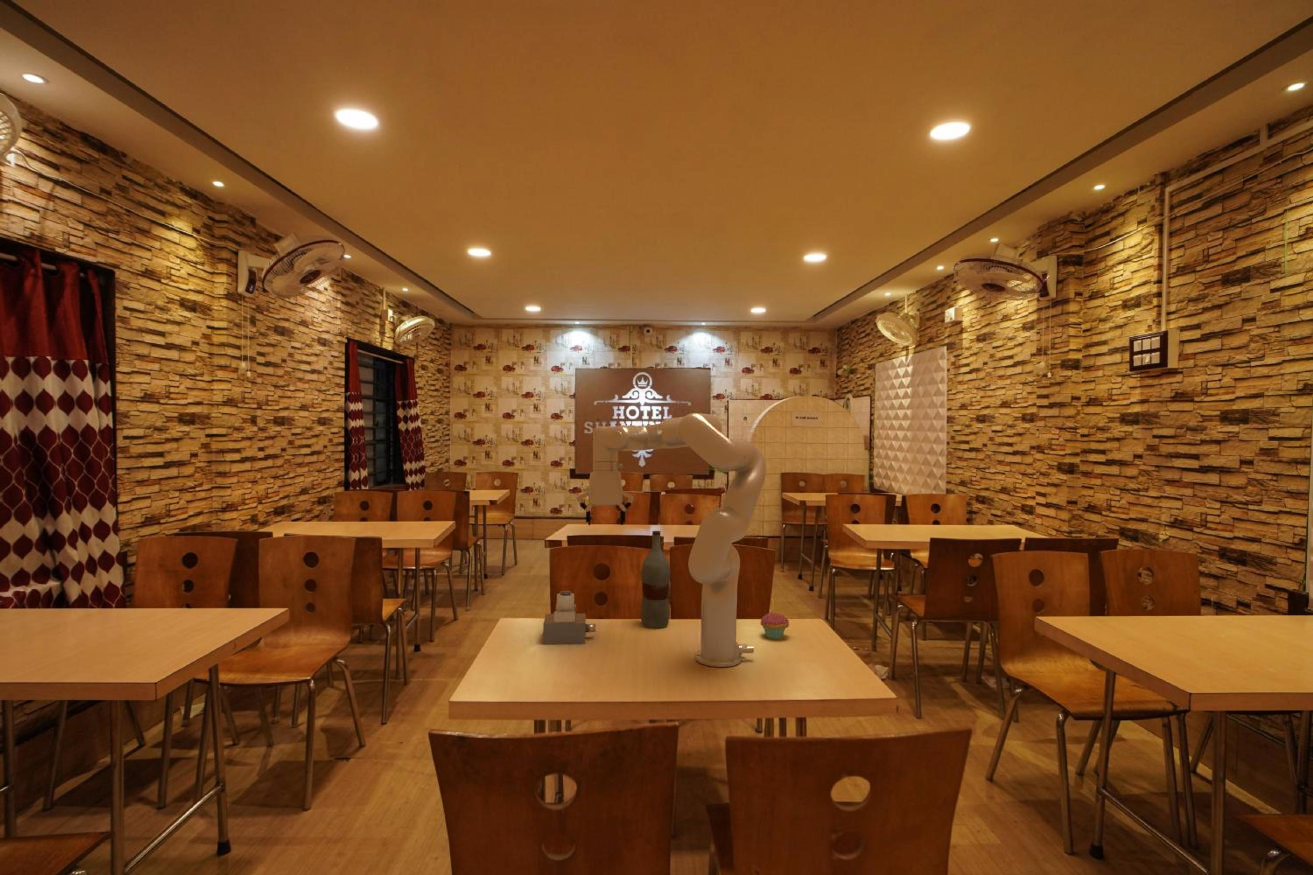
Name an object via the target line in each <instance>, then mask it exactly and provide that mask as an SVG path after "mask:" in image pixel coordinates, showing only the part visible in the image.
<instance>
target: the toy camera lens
mask: <svg viewBox="0 0 1313 875" xmlns="http://www.w3.org/2000/svg"><path fill="white" fill-rule="evenodd" d="M574 604H575V594H574V593H573V592H572V591H570V590H560V592H559V593H557V594H556V605H557V611H574Z"/></svg>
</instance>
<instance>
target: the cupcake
mask: <svg viewBox="0 0 1313 875" xmlns="http://www.w3.org/2000/svg"><path fill="white" fill-rule="evenodd" d="M770 601H771V612H770V613H766V614H764V615H763V616H762V617H761V618H760V625H761V627H762V628H763V630H764V634H765V637H766V638H767V637H768V639H769V638H771V639H770V640H781V639H782V638H783V635H784V633H785V630H786V628H789V626H790V621H789V619H788V618H787V617H786V616H785V615H783V614H781V613H777V612H775V605H774V603H775V602H774V601H775V600H774V598H773V597H771V600H770Z"/></svg>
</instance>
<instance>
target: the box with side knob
mask: <svg viewBox="0 0 1313 875" xmlns="http://www.w3.org/2000/svg"><path fill="white" fill-rule="evenodd" d="M576 611H577V604H575V603H574V611H557V604H555V611H554V612H553V613H545V616H544V620H543V623H542V624H543V628H542V630H543V632H542V637H543V638H542V645H544V646H545V645H550V646H551V645H585V644H586V633H596V631H597V630H596V629H597V628H596V626H597V623H587V620H586V618H587V613H577V612H576Z"/></svg>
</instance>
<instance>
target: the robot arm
mask: <svg viewBox="0 0 1313 875" xmlns="http://www.w3.org/2000/svg"><path fill="white" fill-rule="evenodd" d="M592 432H593V433H592V455H593V456H592V471H591V472H590V473H589V474H590V475H589V481H588V490H587V491H585V492H584V493H581V494H579V495H577V497H576V500H577V502H578V504H579V507H581V509H583V510H584V511H585V523H587V524H588V526H591V525H592V523H591V522H592V520H591V519H592V518H591V517H592V513H591V510H592V508H593V507H594V506H618V507H619V508H620V511H619V521H620V522H619V523H620V525H621V526H622V525H624V523H625V522H626V511H627V510H628V509H629V508H630V507H631V506H632V503H633V502H634V499H635V496H634V495H632V494H630V493H628V492H626V491H624V490H623V481H622V475H621V474H622V472H620V471H619V470H620V469H624V464H623V463H620V462H619V452H625V451H626V452H634V451H637V452H639V451H649V450H660V449H678V448H686V447H687V448H688V447H689V449H691V450H693V452H694V453H696V454H697V455H698V456H699V457H700V458H701V459H702V460H704V461H705V462H706V463H707V464H709V465H710V466H711V467H712V468H713V469H716V470H717V471H720V472H723V473H730V472H731V473H732V472H734V477H733V479H732V480H731V481H730V483H729V486H728V488H727V490H726V494H725V497H724V499H723V501H722V504H721V506H720V507H718V508H714V509H712V510H711V511H709V512H708V513H706V515H705V516H704V517H703V519H702V521H701V522H700V525H699V527H698V531H697V533H696V536H695V539H694V541H693V542H694V543H693V545H692V548H691V550H690V554H689V557H688V565H687V566H688V572H689V574H690V576H691V577H692V579H693V580H694V581H696V582H697V583H699V584H701V585H702V586H701V603H700V604H701V608H700V610H701V611H700V614H701V616H700V649H699V650H697V651H695V653H694V659H695V661H696V662H698V663H700V664H702V665H703V666H710V667H715V668H727V667H734V666H737V665H739V664H741V662H742V658H743V657H742V655H743V654H754V650H755V649H754V646H753V645H747V644H746V643H741V644H739V642H738V641H737V607H738V606H737V603H738V582H739V574H740V568H741V559H740V558H741V557H740V555H739V552H738V550H737V548H735V546H733V545H732V544H733V543H735V542H738V541H741V540H742V539H743V538H744V537H745V536H746V535H747V533H748V531H749V528H750V526H751V522H752V519H753V516H754V513H755V511H756V507H757V505H758V501H759V498H760V496H761V492H762V490H763V487H764V484H765V481H766V476H767V466H766V464H767V463H766V460H765V457H764V455H763V453H762V451H761V450H760V449H759V448H758V447H757V445H755V444H754V443H752V442H751V441H748V440H746V439H742V438H741V439H740V438H734V439H733V438H731V439H730V438H728V437H727V436H725V435H724V433H722V432H723V427H722V424H721V421H720V420H719V419H718V418H717V417H716V416H714V415H713V414H709V413H700V412H699V413H698V412H691V413H688V414H686V415H685V416H679V417H671V418H670V417H669V418H665V419H664V420H663V421H662V422H661V423H656V424H647V425H626V424H625V425H621V424H620V425H614V426H596V427H594V428H593V430H592ZM587 497H588V504H587V505H586V504H585V503H584V501H583V499H585V498H587ZM623 497H625V498H628V500H627V502H626V503H625V504H623V499H624V498H623Z"/></svg>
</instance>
